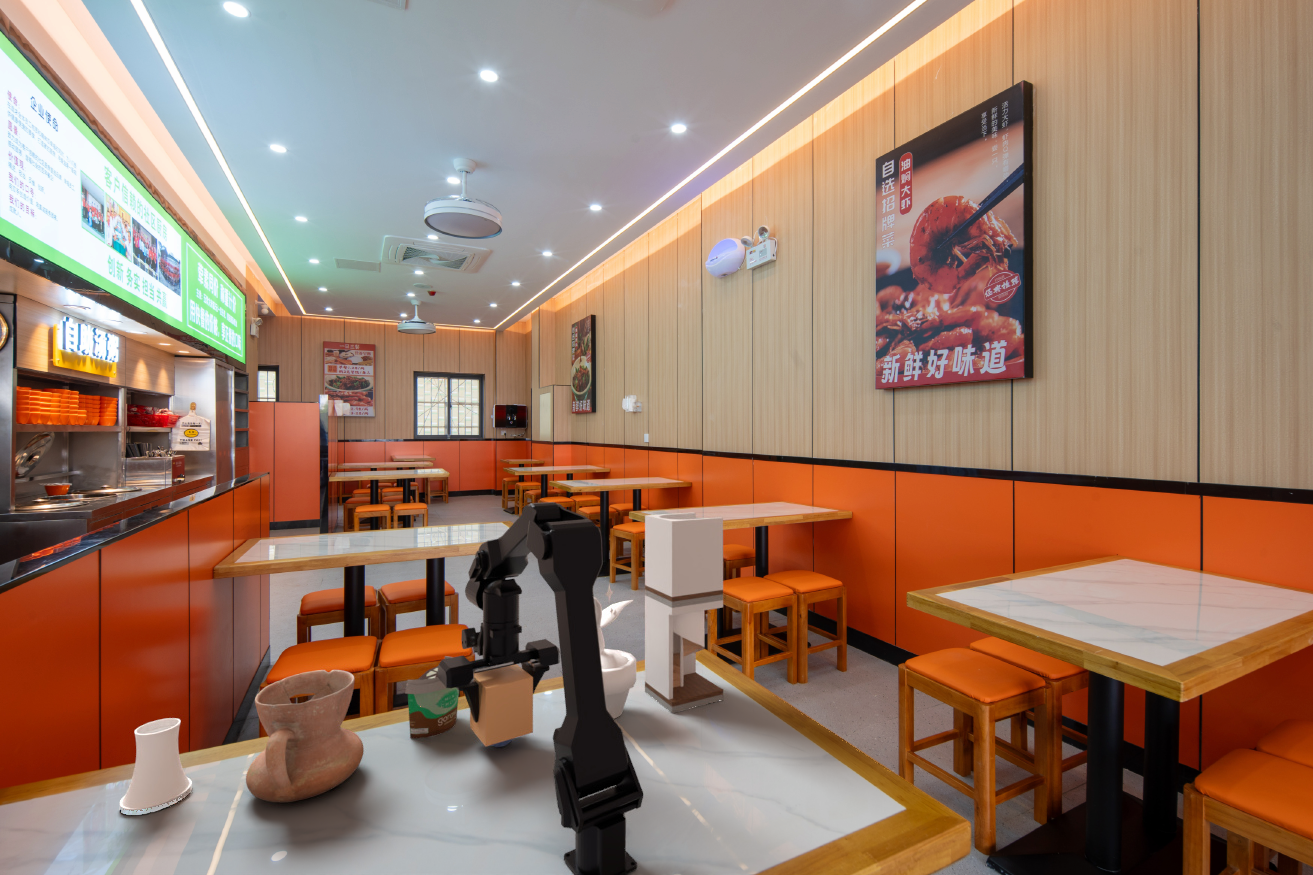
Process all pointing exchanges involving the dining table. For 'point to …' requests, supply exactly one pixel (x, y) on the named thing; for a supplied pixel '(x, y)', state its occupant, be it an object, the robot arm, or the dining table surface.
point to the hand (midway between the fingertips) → (500, 714)
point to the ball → (502, 743)
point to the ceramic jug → (304, 737)
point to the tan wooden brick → (503, 704)
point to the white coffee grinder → (680, 605)
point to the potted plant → (614, 660)
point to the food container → (431, 705)
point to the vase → (156, 767)
